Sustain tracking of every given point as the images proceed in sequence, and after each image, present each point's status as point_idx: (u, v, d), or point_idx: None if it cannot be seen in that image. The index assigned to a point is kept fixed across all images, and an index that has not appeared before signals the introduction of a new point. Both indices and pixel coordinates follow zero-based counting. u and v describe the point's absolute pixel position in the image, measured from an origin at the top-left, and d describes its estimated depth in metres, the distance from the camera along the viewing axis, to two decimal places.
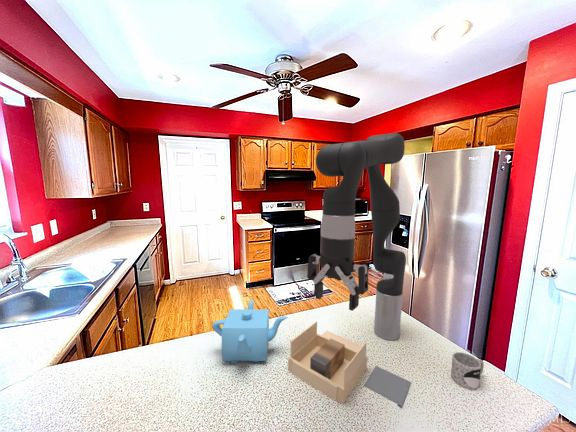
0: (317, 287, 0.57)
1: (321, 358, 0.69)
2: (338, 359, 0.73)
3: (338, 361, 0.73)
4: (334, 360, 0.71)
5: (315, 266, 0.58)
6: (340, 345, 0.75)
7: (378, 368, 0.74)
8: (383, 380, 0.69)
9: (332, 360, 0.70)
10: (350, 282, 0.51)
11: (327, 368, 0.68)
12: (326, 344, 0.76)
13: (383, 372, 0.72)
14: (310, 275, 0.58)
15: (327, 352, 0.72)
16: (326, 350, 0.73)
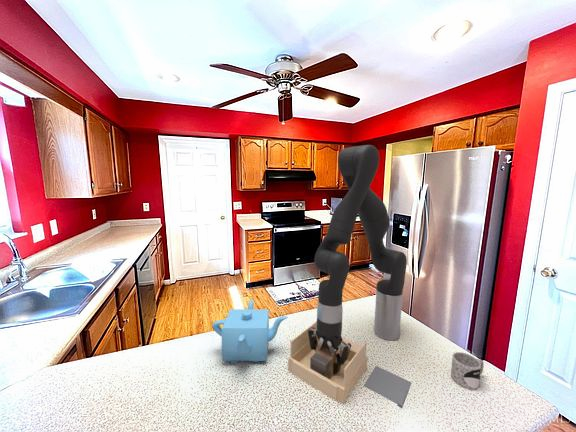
0: None
1: (321, 358, 0.69)
2: None
3: None
4: None
5: (314, 337, 0.76)
6: (340, 345, 0.75)
7: (378, 368, 0.74)
8: (383, 380, 0.69)
9: (332, 360, 0.70)
10: (335, 354, 0.70)
11: (327, 368, 0.68)
12: None
13: (383, 372, 0.72)
14: (312, 346, 0.75)
15: (327, 352, 0.72)
16: (326, 350, 0.73)
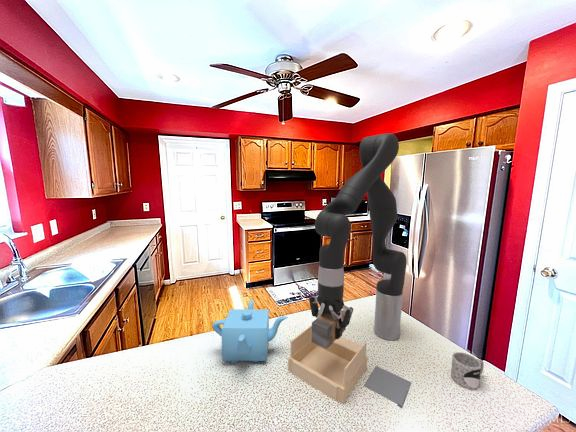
0: None
1: (323, 323, 0.68)
2: None
3: None
4: None
5: (316, 305, 0.75)
6: (342, 312, 0.74)
7: (378, 368, 0.74)
8: (383, 380, 0.69)
9: (334, 325, 0.69)
10: (337, 319, 0.69)
11: (329, 332, 0.67)
12: None
13: (383, 372, 0.72)
14: (314, 313, 0.74)
15: (329, 318, 0.71)
16: (328, 316, 0.72)
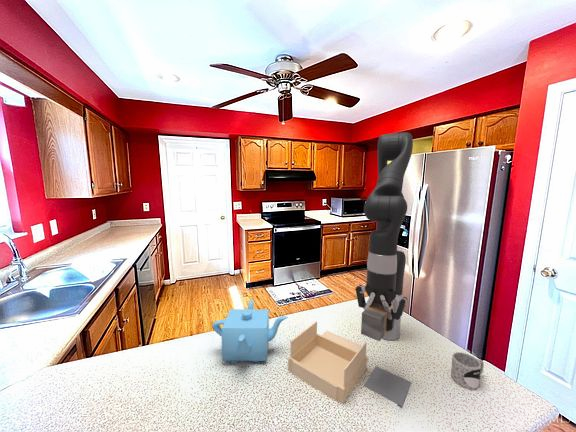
0: None
1: (374, 313, 0.64)
2: None
3: None
4: None
5: (362, 295, 0.70)
6: None
7: (378, 368, 0.74)
8: (383, 380, 0.69)
9: (386, 316, 0.64)
10: (389, 309, 0.64)
11: (382, 323, 0.62)
12: None
13: (383, 372, 0.72)
14: (361, 303, 0.69)
15: (379, 309, 0.66)
16: (377, 307, 0.67)
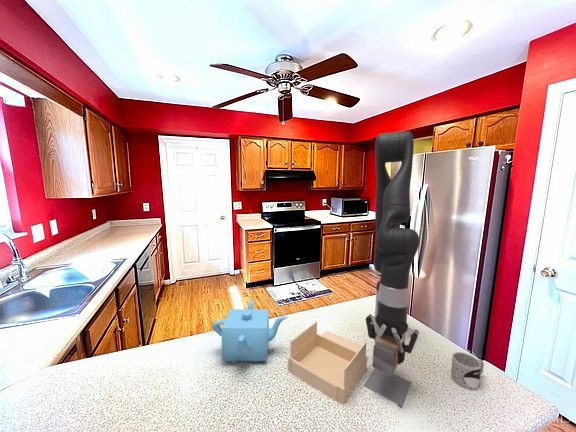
0: None
1: (385, 346, 0.63)
2: None
3: None
4: None
5: (372, 325, 0.70)
6: None
7: None
8: (383, 380, 0.69)
9: (397, 349, 0.64)
10: (401, 342, 0.64)
11: (394, 357, 0.61)
12: None
13: (383, 372, 0.72)
14: (371, 334, 0.69)
15: (390, 341, 0.66)
16: (388, 338, 0.67)
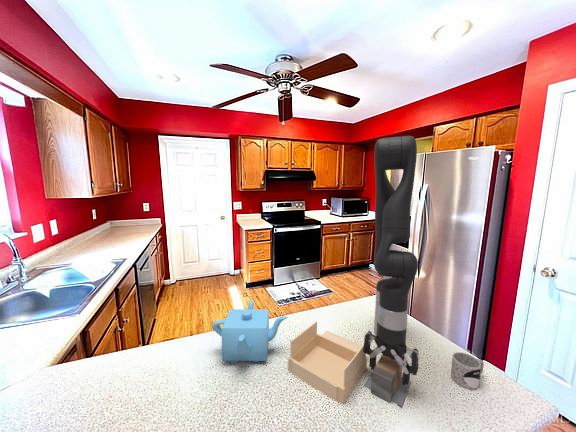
0: (372, 361, 0.69)
1: (384, 372, 0.64)
2: (398, 373, 0.68)
3: (398, 375, 0.68)
4: (396, 374, 0.66)
5: (369, 342, 0.71)
6: None
7: None
8: None
9: (395, 374, 0.65)
10: (404, 363, 0.64)
11: (392, 384, 0.62)
12: (383, 356, 0.71)
13: None
14: (366, 350, 0.70)
15: (388, 366, 0.67)
16: (386, 363, 0.68)
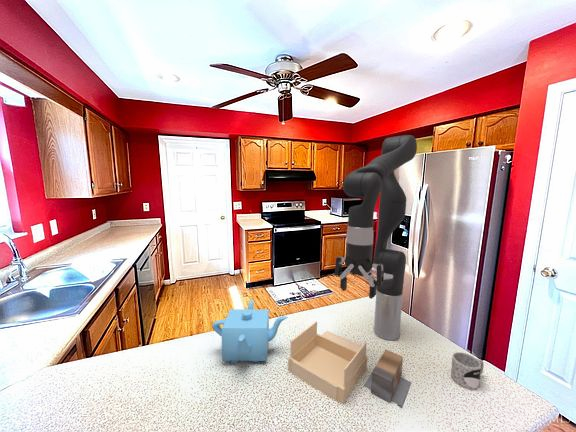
0: (343, 281, 0.74)
1: (384, 372, 0.64)
2: (398, 373, 0.68)
3: (398, 375, 0.68)
4: (396, 374, 0.66)
5: (340, 265, 0.75)
6: (399, 357, 0.70)
7: None
8: None
9: (395, 374, 0.65)
10: (370, 277, 0.68)
11: (392, 384, 0.62)
12: (383, 356, 0.71)
13: None
14: (337, 272, 0.75)
15: (388, 366, 0.67)
16: (386, 363, 0.68)
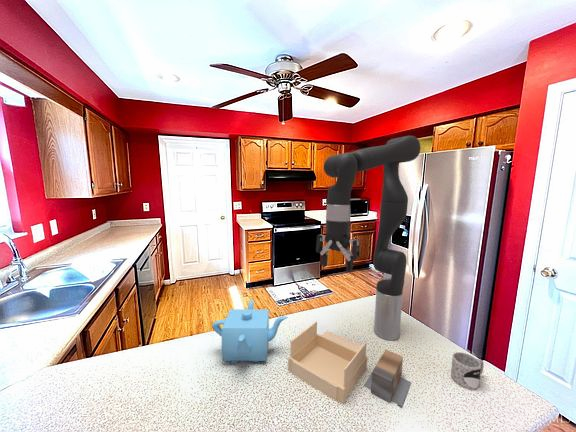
0: (323, 257, 0.78)
1: (384, 372, 0.64)
2: (398, 373, 0.68)
3: (398, 375, 0.68)
4: (396, 374, 0.66)
5: (321, 243, 0.80)
6: (399, 357, 0.70)
7: None
8: None
9: (395, 374, 0.65)
10: (347, 252, 0.73)
11: (392, 384, 0.62)
12: (383, 356, 0.71)
13: None
14: (318, 249, 0.79)
15: (388, 366, 0.67)
16: (386, 363, 0.68)
